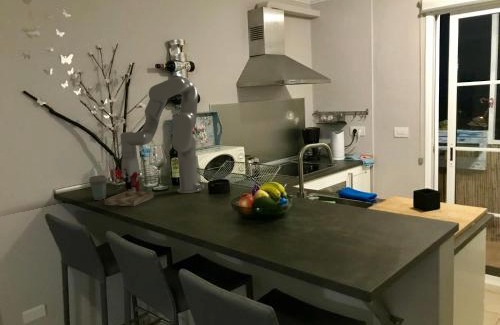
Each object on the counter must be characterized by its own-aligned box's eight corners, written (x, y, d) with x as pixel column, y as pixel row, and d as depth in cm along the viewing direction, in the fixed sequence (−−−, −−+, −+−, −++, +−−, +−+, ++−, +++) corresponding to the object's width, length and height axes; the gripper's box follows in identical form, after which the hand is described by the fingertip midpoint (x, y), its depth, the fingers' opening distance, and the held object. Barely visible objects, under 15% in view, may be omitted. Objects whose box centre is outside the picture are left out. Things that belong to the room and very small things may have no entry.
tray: (154, 197, 214) (153, 192, 213) (134, 206, 198) (133, 200, 197) (126, 196, 219) (125, 191, 219) (104, 204, 203) (104, 199, 203)
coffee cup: (105, 200, 212) (102, 177, 210) (88, 201, 212) (86, 178, 211) (111, 197, 221) (108, 174, 219) (95, 197, 221) (92, 175, 219)
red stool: (136, 194, 223) (134, 172, 221) (124, 194, 224) (122, 172, 223) (142, 191, 230) (139, 170, 228) (130, 191, 231) (128, 170, 229)
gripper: (133, 152, 233) (136, 184, 236) (113, 157, 217) (117, 191, 220) (144, 152, 231) (147, 184, 233) (125, 157, 215) (129, 191, 217)
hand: (132, 187), depth 227 cm, fingers closed on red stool, 6 cm apart
